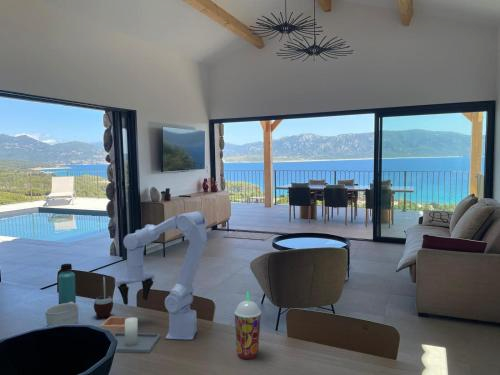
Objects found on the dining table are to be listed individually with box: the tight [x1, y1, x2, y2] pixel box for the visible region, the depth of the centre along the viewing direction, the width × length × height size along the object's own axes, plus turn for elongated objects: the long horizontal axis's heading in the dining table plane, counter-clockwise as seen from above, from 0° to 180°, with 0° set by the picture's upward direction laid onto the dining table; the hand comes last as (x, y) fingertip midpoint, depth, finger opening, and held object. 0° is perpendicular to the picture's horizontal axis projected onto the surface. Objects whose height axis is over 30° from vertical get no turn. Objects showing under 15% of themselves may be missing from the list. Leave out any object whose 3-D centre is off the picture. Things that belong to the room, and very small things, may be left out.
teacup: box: [44, 302, 79, 328], centre depth 141 cm, size 14×11×8 cm
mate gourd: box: [93, 276, 114, 320], centre depth 150 cm, size 8×8×15 cm
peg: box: [125, 316, 139, 346], centre depth 126 cm, size 4×4×8 cm
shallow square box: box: [99, 316, 131, 335], centre depth 139 cm, size 9×9×3 cm
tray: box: [114, 332, 161, 354], centre depth 126 cm, size 16×12×2 cm
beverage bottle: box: [57, 263, 77, 304], centre depth 155 cm, size 6×7×20 cm
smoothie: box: [233, 291, 262, 360], centre depth 119 cm, size 8×8×20 cm
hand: (135, 301), depth 141 cm, fingers open, 7 cm apart
